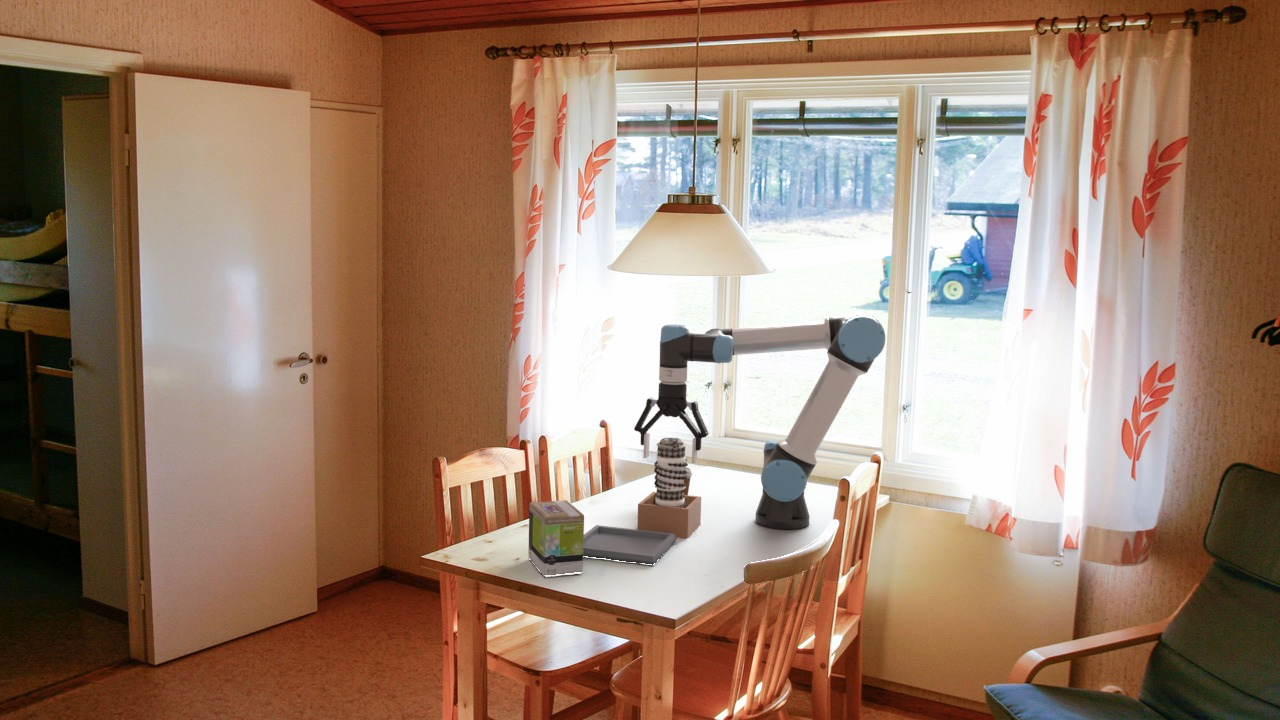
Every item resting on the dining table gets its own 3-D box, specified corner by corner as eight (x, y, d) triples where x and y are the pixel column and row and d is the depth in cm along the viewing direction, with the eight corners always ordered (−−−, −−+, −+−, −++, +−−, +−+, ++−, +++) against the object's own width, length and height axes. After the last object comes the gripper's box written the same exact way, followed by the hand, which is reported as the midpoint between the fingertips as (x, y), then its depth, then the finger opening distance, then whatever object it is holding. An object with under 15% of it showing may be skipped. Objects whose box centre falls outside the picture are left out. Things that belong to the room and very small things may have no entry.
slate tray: (675, 543, 272) (675, 533, 272) (653, 566, 253) (653, 556, 253) (596, 534, 278) (596, 525, 278) (568, 555, 260) (569, 546, 259)
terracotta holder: (700, 524, 289) (701, 496, 288) (687, 538, 276) (688, 509, 275) (652, 519, 293) (653, 491, 292) (637, 533, 280) (637, 504, 279)
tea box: (584, 575, 246) (585, 514, 244) (543, 579, 242) (543, 517, 240) (566, 556, 260) (567, 498, 258) (527, 559, 256) (527, 501, 254)
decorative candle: (690, 526, 287) (693, 437, 284) (679, 535, 279) (682, 444, 276) (659, 522, 291) (661, 434, 288) (647, 531, 282) (649, 440, 279)
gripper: (624, 380, 280) (622, 458, 282) (714, 387, 272) (711, 466, 275) (633, 377, 287) (630, 452, 290) (721, 383, 280) (718, 461, 282)
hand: (670, 459), depth 282 cm, fingers open, 13 cm apart
